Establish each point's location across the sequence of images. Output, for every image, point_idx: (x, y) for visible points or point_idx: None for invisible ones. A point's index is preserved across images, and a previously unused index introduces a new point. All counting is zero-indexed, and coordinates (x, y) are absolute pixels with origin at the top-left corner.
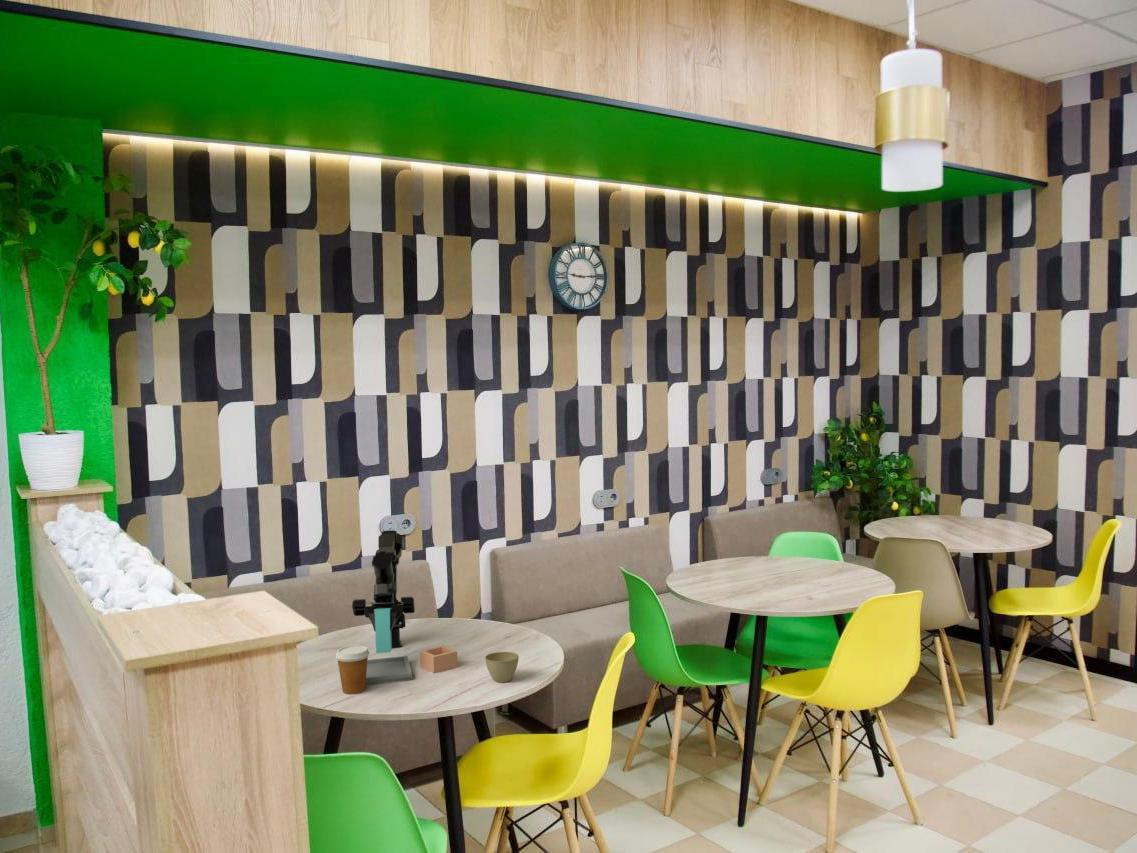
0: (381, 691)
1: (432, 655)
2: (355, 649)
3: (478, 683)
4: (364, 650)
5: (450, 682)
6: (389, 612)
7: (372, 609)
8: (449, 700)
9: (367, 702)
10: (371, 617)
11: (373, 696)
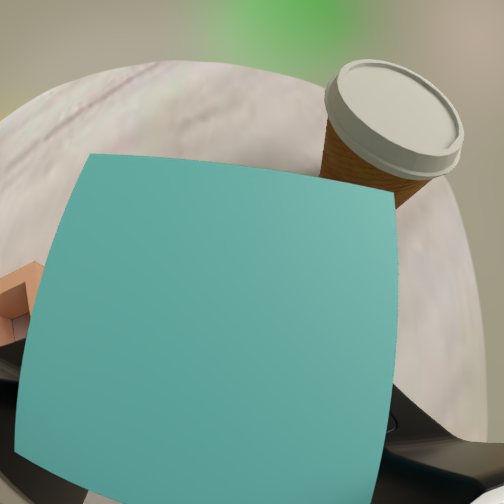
0: (263, 165)
1: (31, 284)
2: (395, 116)
3: (20, 162)
4: (349, 88)
5: (60, 183)
6: (93, 170)
7: (449, 460)
8: (117, 84)
9: (303, 109)
10: (398, 400)
11: (288, 137)
